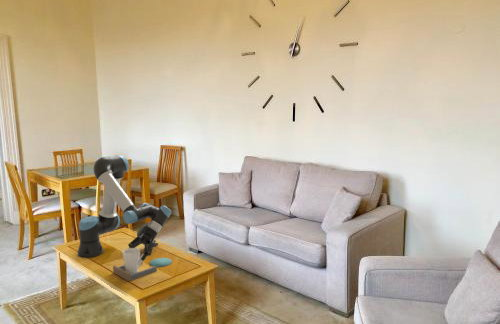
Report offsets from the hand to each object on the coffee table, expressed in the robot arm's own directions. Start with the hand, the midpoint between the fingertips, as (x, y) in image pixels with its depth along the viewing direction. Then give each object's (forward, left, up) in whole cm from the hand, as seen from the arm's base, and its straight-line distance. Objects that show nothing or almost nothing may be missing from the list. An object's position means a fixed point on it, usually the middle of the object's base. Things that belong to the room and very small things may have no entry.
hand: (130, 261), depth 214 cm
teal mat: (-1, +20, -7) cm, 21 cm away
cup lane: (-1, +3, -7) cm, 8 cm away
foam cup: (-1, +1, -7) cm, 7 cm away
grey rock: (-27, +29, -7) cm, 40 cm away
